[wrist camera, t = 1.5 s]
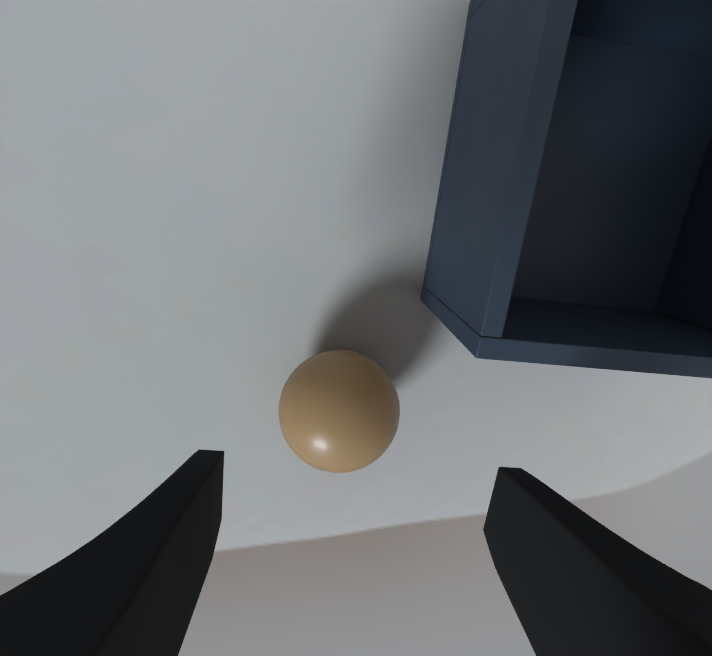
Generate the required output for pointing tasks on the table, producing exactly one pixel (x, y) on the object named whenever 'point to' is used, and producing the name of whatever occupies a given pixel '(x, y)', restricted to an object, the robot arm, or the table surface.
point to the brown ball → (339, 411)
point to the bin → (579, 186)
